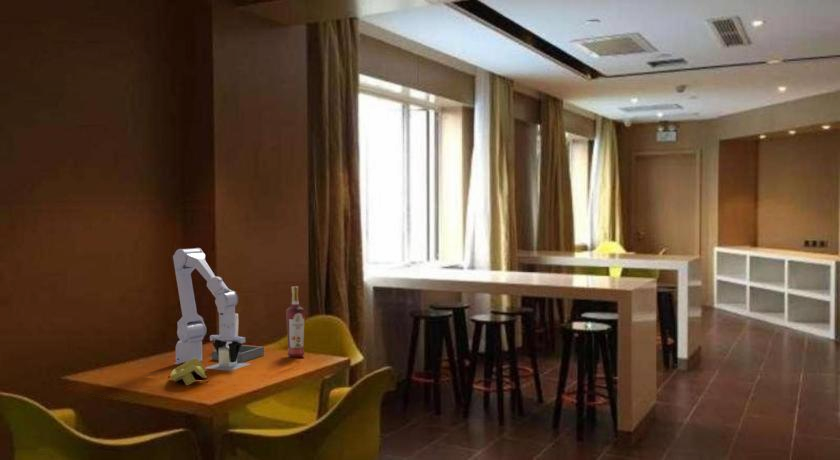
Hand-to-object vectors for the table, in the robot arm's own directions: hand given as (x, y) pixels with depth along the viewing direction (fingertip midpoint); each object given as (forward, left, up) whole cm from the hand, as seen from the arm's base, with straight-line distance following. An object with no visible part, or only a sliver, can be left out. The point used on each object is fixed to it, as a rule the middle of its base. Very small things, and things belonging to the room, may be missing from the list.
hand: (227, 361), depth 262 cm
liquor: (+12, +27, -3) cm, 30 cm away
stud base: (0, 0, -3) cm, 3 cm away
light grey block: (0, 0, -2) cm, 2 cm away
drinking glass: (-22, +30, -3) cm, 37 cm away
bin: (-6, +14, -3) cm, 16 cm away
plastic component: (-2, -19, -3) cm, 20 cm away
